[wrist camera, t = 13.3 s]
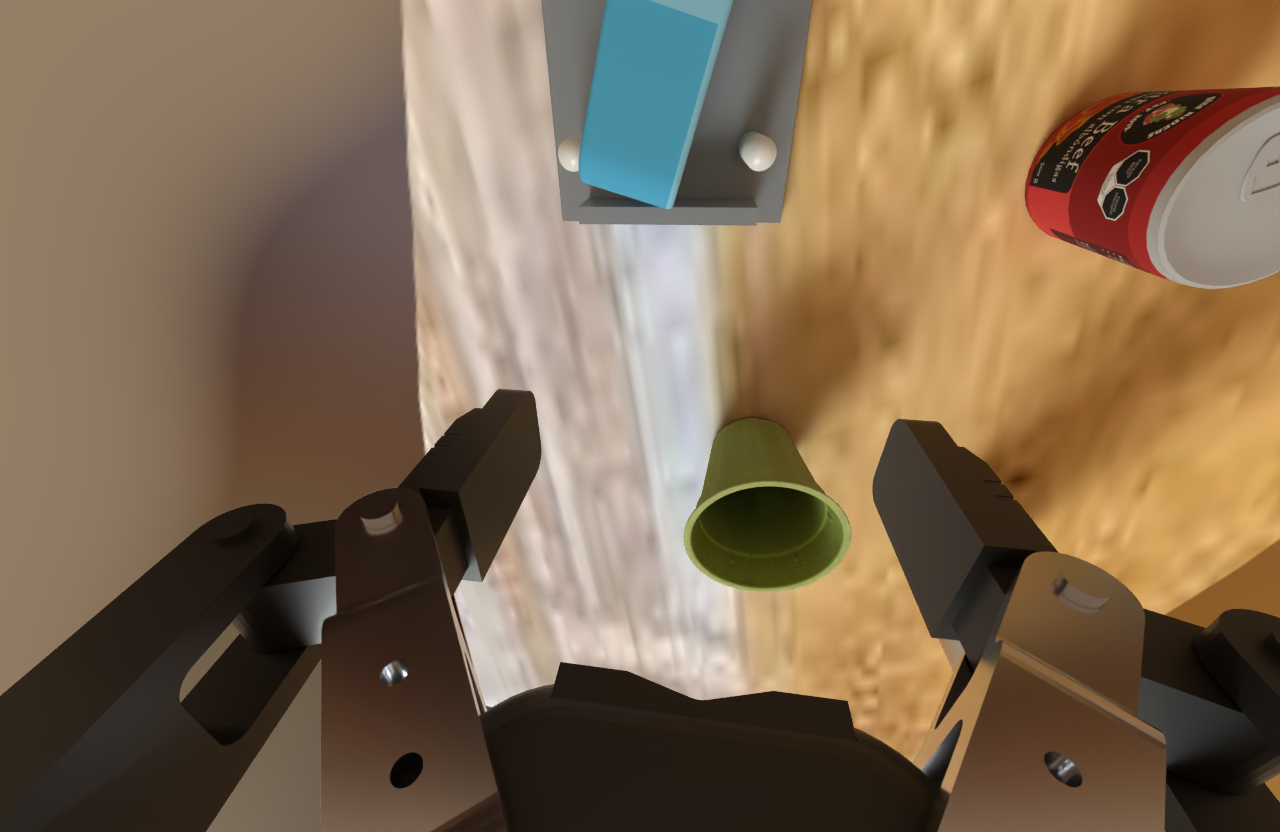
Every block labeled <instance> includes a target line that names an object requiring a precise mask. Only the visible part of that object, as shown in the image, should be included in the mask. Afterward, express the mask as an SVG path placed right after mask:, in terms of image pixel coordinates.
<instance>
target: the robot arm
mask: <svg viewBox="0 0 1280 832" xmlns="http://www.w3.org/2000/svg"><path fill="white" fill-rule="evenodd" d="M540 460H541V441H540V433H539V426H538V418H537V410H536V402H535V398H534V395H533V393H532V392H531V391H521V390H507V389H498V390H497V391H496V392H495V393H494V394H493V396H492V397H491V398H490V399H489V401H488V402H487V403H486V404H485V406H484V407H483V408H482V409H481V408H474V409H473V410H471V411H469V412H468V413H466V414H464V415H463V416H461V417H459V418H458V419H456V420H455V421H454V423H453V424H452V425H451V426H450V427H449V428H448V430H447V431H446V432H445V433H444V436H442V437H441V438H440V439H439V440H438V441H437V442H436V444H435V447H434V448H431V449H430V451H429V452H428V453H427V454H426V455H425V456H424V458H423V459H422V460H421V461H420V462H419V463H418V464H417V466H416V467H415V468H414V469H413V470H412V472H411V473H410V474H409V475H408V476H407V477H406V478H405V480H404V481H403V482H402V483H401V484H400V486H399V487H398V488H389V489H383V490H379V491H376V492H373V493H370V494H368V495H366V496H363V497H361V498H360V499H358V500H356V501H355V502H353V503H352V504H350V505H349V506H348V507H347V508H346V509H345V510H344V511H343V512H342V513H341V514H340V515H339V517H338V519H335V520H328V521H321V522H313V523H307V524H299V525H292V524H291V521H290V520H289V518H288V516H287V514H286V512H285V511H284V510H283V509H282V508H281V507H279V506H277V505H273V504H254V505H248V506H244V507H240V508H237V509H234V510H231V511H228V512H226V513H224V514H222V515H219V516H217V517H215V518H214V519H212V520H210V521H209V522H207V523H205V524H204V525H202V526H201V527H200V528H198V529H197V530H196V531H195V532H193V533H192V534H191V535H190V536H189V537H187V538H186V539H185V540H184V541H183V542H182V543H180V544H179V545H178V546H177V547H176V548H175V549H173V550H172V551H171V552H170V553H168V554H167V555H166V556H165V557H164V558H163V559H161V560H160V561H159V562H158V563H157V564H156V565H154V566H153V567H152V568H151V569H150V570H148V571H147V572H146V573H145V574H144V575H143V576H141V577H140V578H139V579H138V580H137V581H135V582H134V583H133V584H132V585H131V586H130V587H128V588H127V589H126V590H125V591H124V592H122V593H121V594H120V595H119V596H118V597H117V598H115V599H114V600H113V601H112V602H111V603H110V604H108V605H107V606H106V607H105V608H104V609H102V610H101V611H100V612H99V613H98V614H97V615H96V616H94V617H93V618H92V619H91V620H89V621H88V622H87V623H86V624H85V625H84V626H82V627H81V628H80V629H79V630H78V631H77V632H75V633H74V634H73V635H72V636H71V637H69V638H68V639H67V640H66V641H65V642H63V643H62V644H61V645H60V646H59V647H58V648H57V649H55V650H54V651H53V652H52V653H51V654H50V655H48V656H47V657H46V658H45V659H43V660H42V661H41V662H40V663H39V664H38V665H36V667H34V668H33V669H32V670H30V671H29V672H28V673H27V674H26V675H25V676H23V677H22V678H21V679H20V680H19V681H18V682H16V683H15V684H14V685H13V686H12V687H11V688H9V689H8V690H7V691H6V692H4V693H3V694H2V695H1V696H0V832H206V831H207V829H208V828H209V826H210V825H211V823H212V821H213V820H214V819H215V817H216V816H217V814H218V812H219V811H220V809H221V808H222V807H223V805H224V804H225V802H226V800H227V799H228V798H229V796H230V794H231V793H232V792H233V790H234V789H235V787H236V786H237V784H238V782H239V781H240V779H241V778H242V776H243V775H244V773H245V772H246V770H247V769H248V767H249V766H250V764H251V763H252V761H253V760H254V758H255V757H256V755H257V754H258V752H259V751H260V749H261V748H262V746H263V745H264V743H265V742H266V740H267V739H268V737H269V736H270V734H271V733H272V731H273V730H274V728H275V727H276V725H277V724H278V722H279V721H280V719H281V718H282V716H283V715H284V713H285V712H286V710H287V709H288V707H289V706H290V704H291V703H292V701H293V700H294V698H295V697H296V695H297V694H298V692H299V691H300V689H301V688H302V686H303V685H304V683H305V682H306V680H307V679H308V677H309V676H310V674H311V673H312V671H313V670H314V668H315V667H316V665H317V664H318V662H319V661H320V659H321V832H1164V830H1165V832H1280V802H1279V801H1278V800H1277V799H1276V798H1275V796H1274V795H1273V793H1272V792H1271V791H1270V790H1269V788H1268V787H1267V786H1266V784H1265V783H1264V782H1266V781H1268V780H1269V779H1271V778H1273V777H1275V776H1276V775H1278V774H1280V618H1278V617H1275V616H1272V615H1269V614H1265V613H1262V612H1258V611H1253V610H1246V609H1231V610H1228V611H1225V612H1223V613H1222V614H1221V615H1220V616H1219V617H1218V618H1217V619H1216V620H1214V621H1213V622H1212V623H1211V624H1210V625H1209V626H1208V627H1207V628H1203V627H1200V626H1197V625H1194V624H1191V623H1188V622H1184V621H1181V620H1178V619H1175V618H1172V617H1168V616H1165V615H1162V614H1159V613H1156V612H1153V611H1150V610H1146V609H1143V607H1142V605H1141V604H1140V602H1139V601H1138V599H1137V598H1136V597H1135V596H1134V594H1133V593H1132V592H1131V591H1130V590H1129V589H1128V588H1127V587H1126V586H1125V585H1123V584H1122V583H1121V582H1120V581H1118V580H1117V579H1116V578H1114V577H1113V576H1112V575H1110V574H1109V573H1107V572H1105V571H1104V570H1102V569H1100V568H1098V567H1097V566H1095V565H1093V564H1090V563H1088V562H1086V561H1084V560H1081V559H1079V558H1076V557H1073V556H1070V555H1066V554H1062V553H1058V551H1057V550H1056V549H1055V548H1054V546H1053V545H1052V544H1051V543H1050V541H1049V540H1048V539H1047V538H1046V536H1045V535H1044V534H1043V533H1042V531H1041V530H1040V529H1039V528H1038V526H1037V525H1036V524H1035V523H1034V521H1033V520H1032V519H1031V518H1030V516H1029V515H1028V514H1027V513H1026V511H1025V510H1024V509H1023V508H1022V507H1021V505H1020V504H1019V503H1018V502H1017V501H1015V500H1013V495H1012V494H1011V493H1010V492H1009V490H1008V489H1007V488H1006V487H1005V485H1001V480H1000V479H999V478H998V477H997V475H996V474H995V473H994V472H993V470H992V469H991V468H990V467H989V465H988V464H987V463H986V462H984V461H983V460H981V459H980V458H979V457H977V456H976V455H974V454H973V453H971V452H970V451H969V450H967V449H966V448H964V447H958V446H957V445H956V443H955V442H954V441H953V439H952V438H951V437H950V435H949V434H948V433H947V431H946V430H945V429H944V427H943V426H942V425H941V424H940V423H939V422H934V421H921V420H907V419H898V420H896V421H895V422H894V424H893V425H892V427H891V430H890V433H889V436H888V438H887V441H886V444H885V447H884V450H883V452H882V455H881V458H880V461H879V464H878V467H877V469H876V472H875V475H874V479H873V499H874V503H875V506H876V508H877V510H878V513H879V515H880V517H881V520H882V522H883V524H884V527H885V529H886V532H887V534H888V536H889V539H890V541H891V543H892V546H893V548H894V550H895V553H896V555H897V557H898V560H899V562H900V565H901V567H902V569H903V572H904V574H905V576H906V579H907V581H908V583H909V586H910V588H911V590H912V593H913V595H914V598H915V600H916V602H917V605H918V607H919V609H920V612H921V614H922V616H923V619H924V621H925V623H926V626H927V628H928V631H929V633H930V635H931V637H932V638H938V639H939V641H940V643H941V646H942V648H943V650H944V652H945V654H946V657H947V659H948V661H949V663H950V666H951V668H952V670H953V674H952V677H951V679H950V682H949V684H948V686H947V689H946V691H945V693H944V696H943V698H942V700H941V703H940V705H939V707H938V710H937V712H936V715H935V717H934V719H933V722H932V724H931V726H930V729H929V731H928V733H927V736H926V738H925V740H924V742H923V744H922V747H921V749H920V750H919V752H918V754H917V756H916V758H915V759H914V761H913V763H912V762H910V761H909V760H908V759H907V758H905V757H904V756H903V755H902V754H900V753H899V752H897V751H896V750H894V749H893V748H891V747H890V746H888V745H887V744H885V743H883V742H882V741H880V740H878V739H876V738H875V737H873V736H871V735H869V734H867V733H865V732H863V731H861V730H859V729H856V728H854V727H853V722H852V718H851V714H850V709H849V705H848V701H843V700H836V699H829V698H821V697H814V696H806V695H799V694H792V693H784V692H777V691H770V692H763V693H756V694H748V695H741V696H734V697H726V698H719V699H712V700H696V699H693V698H690V697H688V696H685V695H683V694H681V693H678V692H676V691H673V690H671V689H669V688H666V687H664V686H662V685H659V684H657V683H654V682H652V681H650V680H647V679H645V678H642V677H640V676H638V675H635V674H633V673H631V672H628V671H622V670H615V669H607V668H600V667H593V666H585V665H578V664H570V663H563V662H560V666H559V669H558V673H557V676H556V680H555V684H553V685H546V686H542V687H538V688H535V689H531V690H527V691H525V692H522V693H520V694H517V695H515V696H513V697H510V698H508V699H507V700H505V701H503V702H501V703H499V704H497V705H495V706H494V707H492V708H491V709H490V710H488V711H487V709H486V706H485V702H484V699H483V696H482V692H481V689H480V686H479V682H478V679H477V675H476V671H475V668H474V664H473V661H472V657H471V653H470V650H469V646H468V642H467V639H466V635H465V631H464V628H463V624H462V621H461V617H460V613H459V610H458V606H457V602H456V599H455V596H454V593H455V591H456V589H457V587H458V585H459V583H460V582H461V580H469V581H477V582H482V581H483V579H484V577H485V575H486V573H487V571H488V569H489V567H490V565H491V563H492V561H493V559H494V557H495V555H496V553H497V551H498V549H499V547H500V545H501V543H502V541H503V539H504V537H505V535H506V533H507V531H508V529H509V527H510V525H511V523H512V521H513V519H514V517H515V515H516V513H517V511H518V509H519V507H520V505H521V503H522V501H523V499H524V497H525V495H526V493H527V491H528V489H529V487H530V485H531V483H532V481H533V479H534V477H535V475H536V473H537V471H538V469H539V465H540ZM231 622H232V623H233V624H234V626H235V627H236V629H237V630H238V631H239V633H240V634H239V635H238V636H237V638H236V639H235V640H234V641H233V642H232V644H231V645H230V646H229V647H228V648H227V649H226V651H225V652H224V653H223V654H222V655H221V656H220V658H219V659H218V660H217V661H216V662H215V663H214V665H213V666H212V667H211V668H210V669H209V671H208V672H207V673H206V674H205V675H204V676H203V677H202V679H201V680H200V681H199V682H198V683H197V685H196V686H195V687H194V688H193V689H192V690H191V691H190V693H189V694H188V695H187V696H186V697H185V698H184V700H183V701H182V702H181V703H180V699H179V694H180V688H181V685H182V682H183V680H184V678H185V676H186V674H187V673H188V671H189V670H190V669H191V667H192V666H193V665H194V664H195V663H196V662H197V660H198V659H199V658H200V657H201V656H202V655H203V654H204V653H205V651H206V650H207V649H208V648H209V647H210V646H211V645H212V644H213V643H214V641H215V640H216V639H217V638H218V637H219V636H220V635H221V634H222V632H223V631H224V630H225V629H226V628H227V627H228V626H229V624H230V623H231Z"/></svg>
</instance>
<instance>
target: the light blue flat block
mask: <svg viewBox="0 0 1280 832" xmlns="http://www.w3.org/2000/svg"><path fill="white" fill-rule="evenodd" d="M733 1H734V0H606V3H605V9H604V14H603V20H602V26H601V32H600V37H599V43H598V49H597V55H596V60H595V66H594V72H593V77H592V83H591V89H590V95H589V100H588V106H587V112H586V118H585V123H584V129H583V135H582V140H581V146H580V153H579V176H580V179H581V181H582V182H584V183H586V184H589V185H592V186H595V187H598V188H602V189H605V190H608V191H611V192H614V193H617V194H620V195H623V196H627V197H630V198H633V199H636V200H639V201H642V202H645V203H648V204H652V205H655V206H658V207H661V208H664V209H671V208H672V207H673V205H674V202H675V198H676V195H677V192H678V188H679V185H680V182H681V178H682V175H683V171H684V168H685V164H686V161H687V158H688V154H689V151H690V147H691V144H692V141H693V137H694V134H695V130H696V127H697V124H698V120H699V117H700V113H701V110H702V106H703V103H704V100H705V96H706V93H707V89H708V86H709V83H710V79H711V76H712V72H713V69H714V66H715V62H716V59H717V55H718V52H719V48H720V45H721V42H722V38H723V35H724V31H725V28H726V25H727V21H728V18H729V14H730V11H731V7H732V4H733Z"/></svg>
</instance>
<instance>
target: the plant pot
mask: <svg viewBox="0 0 1280 832" xmlns="http://www.w3.org/2000/svg"><path fill="white" fill-rule="evenodd" d="M850 541H851V527H850V523H849V521H848V518H847V516H846V514H845V513H844V511H843V510H842V509H841V507H840V506H839V505H838V504H837V503H836V502H835V501H834V500H833V499H831V498H830V497H829V496H827V495H826V494H825V492H824V491H823V490H822V489H821V487H820V486H819V485H818V484H817V483H816V482H815V480H814V478H813V476H812V475H811V473H810V471H809V470H808V468H807V466H806V464H805V462H804V461H803V459H802V457H801V455H800V454H799V452H798V450H797V448H796V447H795V445H794V443H793V442H792V440H791V438H790V436H789V434H788V433H787V432H786V431H785V429H783V428H782V427H781V426H780V425H779V424H777V423H775V422H773V421H767V420H763V419H758V418H746V419H741V420H737V421H735V422H732V423H730V424H729V425H727V426H726V427H724V428H723V429H722V430H721V431H720V432H719V433H718V435H717V436H716V438H715V440H714V442H713V445H712V449H711V454H710V458H709V463H708V468H707V472H706V477H705V481H704V486H703V490H702V495H701V497H700V499H699V501H698V503H697V506H696V509H695V510H694V511H693V513H692V514H691V516H690V517H689V519H688V521H687V524H686V527H685V531H684V545H685V549H686V552H687V554H688V556H689V558H690V560H691V561H692V562H693V564H694V565H695V566H696V567H697V568H698V569H699V570H700V571H701V572H702V573H704V574H706V575H707V576H708V577H710V578H711V579H713V580H715V581H717V582H719V583H721V584H724V585H727V586H730V587H733V588H736V589H740V590H747V591H755V592H777V591H783V590H791V589H795V588H799V587H802V586H805V585H808V584H811V583H813V582H815V581H817V580H819V579H821V578H822V577H824V576H825V575H827V574H828V573H830V572H831V571H832V570H834V569H835V568H836V567H837V566H838V564H839V563H840V562H841V561H842V560H843V558H844V557H845V555H846V553H847V551H848V549H849V546H850Z"/></svg>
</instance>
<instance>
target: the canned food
mask: <svg viewBox="0 0 1280 832" xmlns="http://www.w3.org/2000/svg"><path fill="white" fill-rule="evenodd" d="M1025 201H1026V207H1027V210H1028V212H1029V214H1030V216H1031V218H1032V219H1033V221H1034V222H1035V223H1036V225H1037V226H1038V227H1039V228H1040V229H1041V230H1042V231H1044V232H1045V233H1046V234H1048V235H1050V236H1052V237H1055V238H1058V239H1060V240H1063V241H1066V242H1068V243H1071V244H1074V245H1076V246H1079V247H1082V248H1084V249H1087V250H1090V251H1092V252H1095V253H1098V254H1100V255H1103V256H1106V257H1108V258H1111V259H1114V260H1116V261H1119V262H1122V263H1124V264H1127V265H1129V266H1132V267H1135V268H1137V269H1140V270H1143V271H1145V272H1148V273H1151V274H1153V275H1156V276H1159V277H1162V278H1165V279H1168V280H1171V281H1174V282H1177V283H1180V284H1182V285H1189V286H1192V287H1197V288H1206V289H1219V288H1230V287H1235V286H1240V285H1244V284H1249V283H1252V282H1255V281H1257V280H1260V279H1263V278H1266V277H1269V276H1271V275H1273V274H1275V273H1277V272H1279V271H1280V87H1260V88H1235V89H1211V90H1186V91H1161V92H1136V93H1128V94H1120V95H1117V96H1114V97H1111V98H1107V99H1104V100H1102V101H1100V102H1098V103H1096V104H1094V105H1092V106H1090V107H1088V108H1086V109H1084V110H1082V111H1080V112H1078V113H1077V114H1076V115H1074V116H1073V117H1071V118H1070V119H1068V120H1067V121H1066V122H1065V123H1063V124H1062V125H1061V126H1060V127H1059V128H1058V129H1057V130H1056V131H1055V132H1054V133H1053V134H1052V135H1051V136H1050V137H1049V139H1048V140H1047V141H1046V142H1045V143H1044V145H1043V146H1042V148H1041V149H1040V151H1039V152H1038V154H1037V155H1036V157H1035V159H1034V161H1033V163H1032V166H1031V168H1030V170H1029V173H1028V177H1027V180H1026V186H1025Z"/></svg>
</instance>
